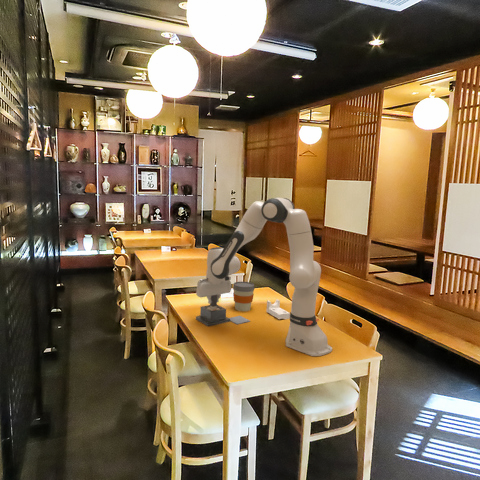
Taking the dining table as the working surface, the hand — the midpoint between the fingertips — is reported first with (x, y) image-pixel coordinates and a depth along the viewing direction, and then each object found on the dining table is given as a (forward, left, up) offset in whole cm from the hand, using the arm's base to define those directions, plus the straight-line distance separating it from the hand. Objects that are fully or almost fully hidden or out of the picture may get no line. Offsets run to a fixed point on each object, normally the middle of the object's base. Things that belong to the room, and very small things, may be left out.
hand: (213, 302), depth 204 cm
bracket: (-12, -36, -10) cm, 40 cm away
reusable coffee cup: (+7, -26, -10) cm, 29 cm away
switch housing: (0, 0, -10) cm, 10 cm away
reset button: (0, 0, -8) cm, 8 cm away
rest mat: (-7, -12, -10) cm, 17 cm away
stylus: (0, 0, -3) cm, 3 cm away
